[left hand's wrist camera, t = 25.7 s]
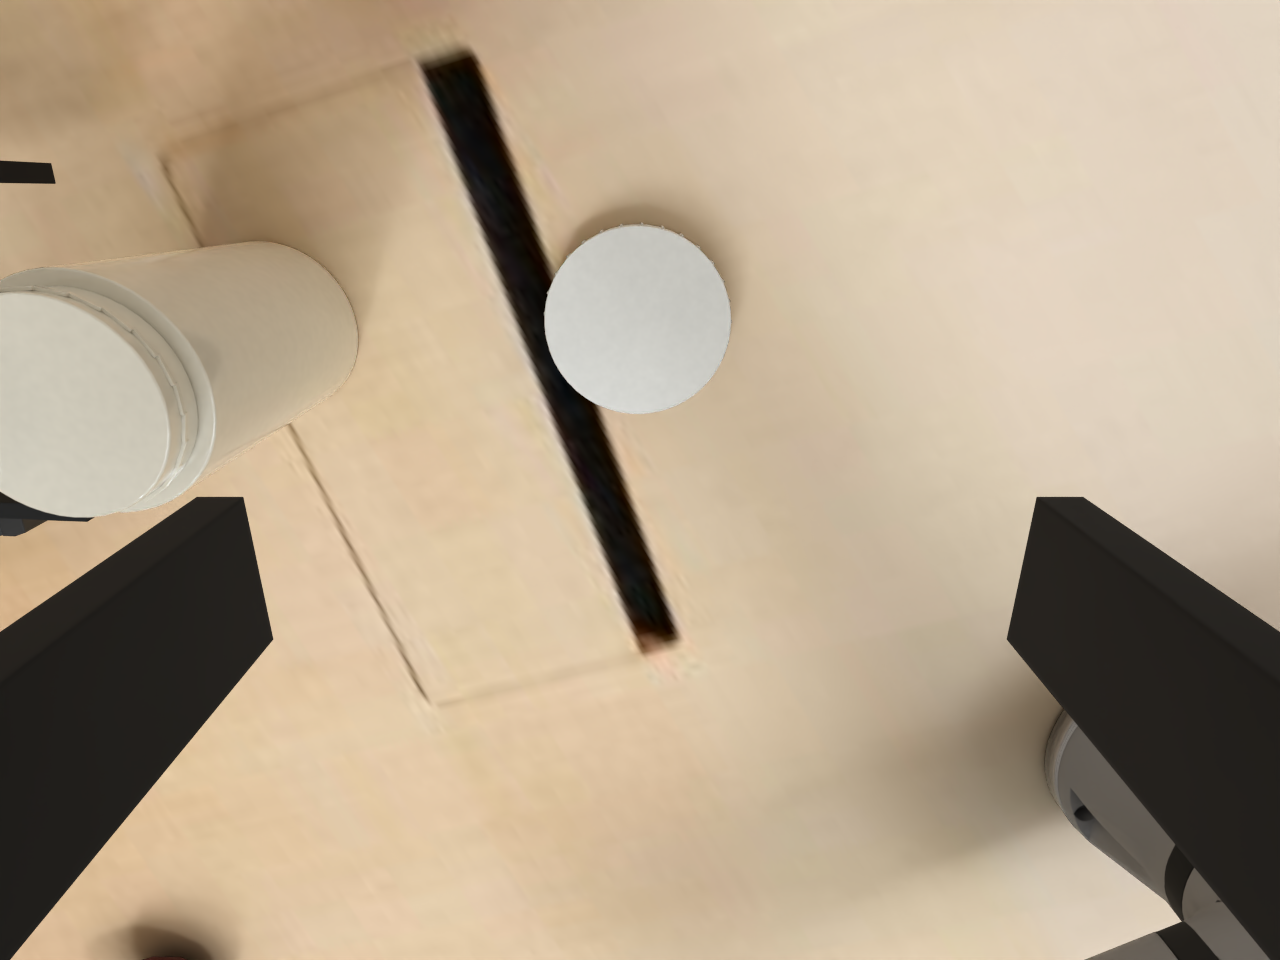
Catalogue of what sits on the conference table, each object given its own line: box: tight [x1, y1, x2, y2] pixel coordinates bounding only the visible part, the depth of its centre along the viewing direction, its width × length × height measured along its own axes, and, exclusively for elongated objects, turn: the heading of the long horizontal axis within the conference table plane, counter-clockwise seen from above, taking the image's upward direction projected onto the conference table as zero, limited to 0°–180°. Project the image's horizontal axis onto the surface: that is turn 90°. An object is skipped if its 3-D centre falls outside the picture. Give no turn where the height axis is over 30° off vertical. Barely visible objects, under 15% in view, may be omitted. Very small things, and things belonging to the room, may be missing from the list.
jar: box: [0, 241, 358, 517], centre depth 30 cm, size 8×8×15 cm
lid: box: [544, 222, 732, 414], centre depth 35 cm, size 9×9×2 cm
